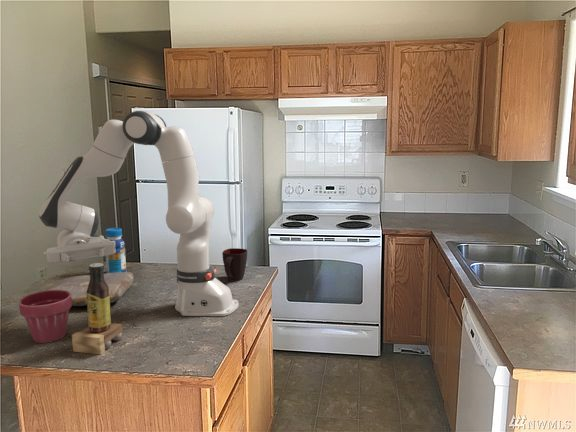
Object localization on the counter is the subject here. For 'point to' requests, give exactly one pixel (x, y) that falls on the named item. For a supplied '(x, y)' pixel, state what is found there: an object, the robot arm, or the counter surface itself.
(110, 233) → the beverage bottle
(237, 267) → the cup
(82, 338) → the roller board
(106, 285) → the sauce bottle
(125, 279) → the stone slab
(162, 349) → the counter surface
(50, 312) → the plant pot
